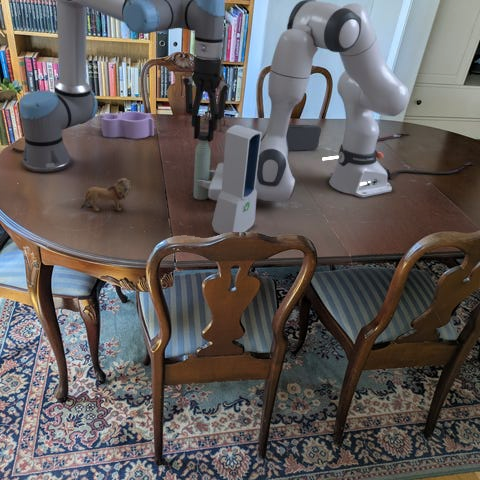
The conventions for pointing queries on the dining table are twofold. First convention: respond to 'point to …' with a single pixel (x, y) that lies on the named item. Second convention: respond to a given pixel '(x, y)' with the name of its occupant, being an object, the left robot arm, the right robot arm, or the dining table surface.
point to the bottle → (201, 169)
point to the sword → (390, 137)
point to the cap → (202, 136)
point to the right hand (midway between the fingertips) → (198, 177)
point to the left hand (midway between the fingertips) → (203, 138)
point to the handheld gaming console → (303, 137)
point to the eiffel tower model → (217, 104)
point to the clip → (127, 125)
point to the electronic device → (238, 181)
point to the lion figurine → (108, 193)
